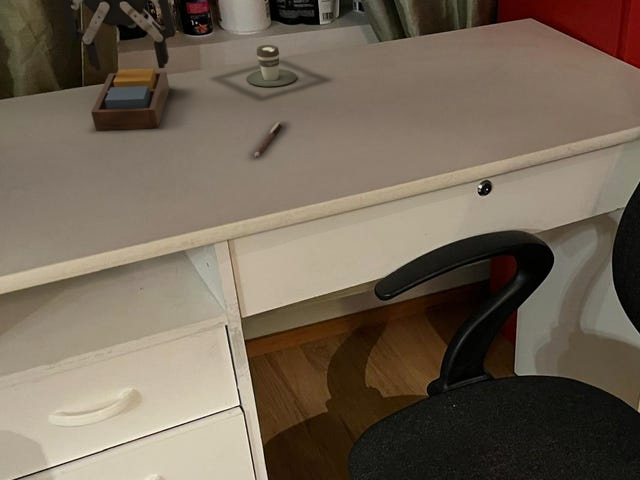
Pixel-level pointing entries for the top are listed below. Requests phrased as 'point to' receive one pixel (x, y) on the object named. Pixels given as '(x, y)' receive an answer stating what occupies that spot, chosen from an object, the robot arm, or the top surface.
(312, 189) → the top surface
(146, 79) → the orange block
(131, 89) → the pad grey
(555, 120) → the top surface
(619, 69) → the top surface
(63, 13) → the robot arm
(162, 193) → the top surface
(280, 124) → the pen
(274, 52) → the coffee cup
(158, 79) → the back frame
